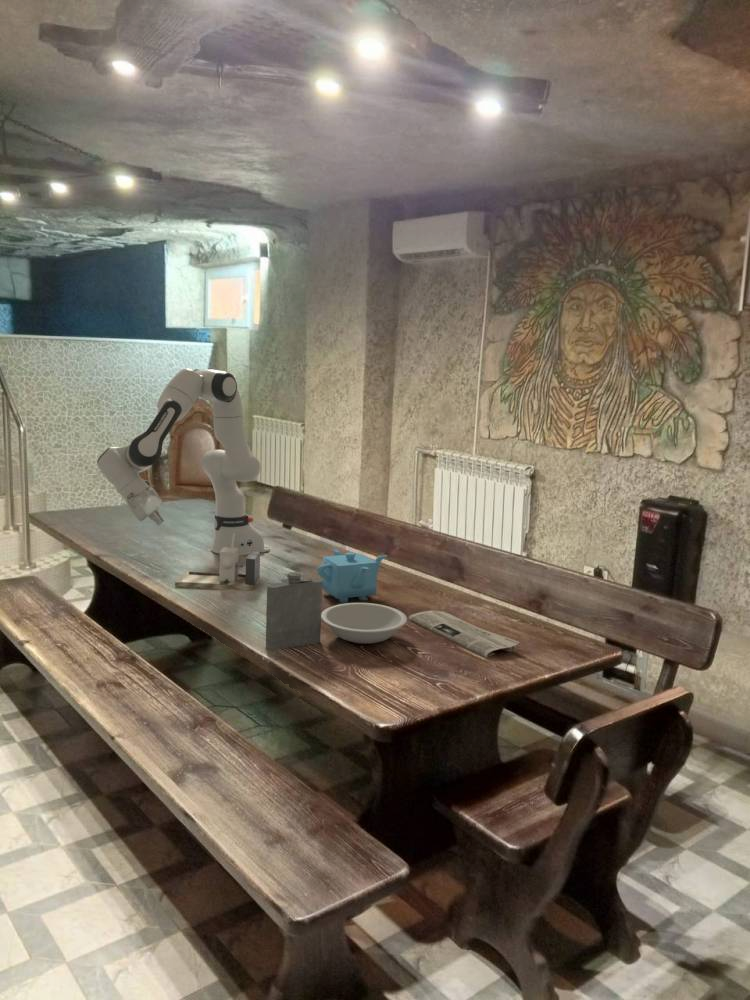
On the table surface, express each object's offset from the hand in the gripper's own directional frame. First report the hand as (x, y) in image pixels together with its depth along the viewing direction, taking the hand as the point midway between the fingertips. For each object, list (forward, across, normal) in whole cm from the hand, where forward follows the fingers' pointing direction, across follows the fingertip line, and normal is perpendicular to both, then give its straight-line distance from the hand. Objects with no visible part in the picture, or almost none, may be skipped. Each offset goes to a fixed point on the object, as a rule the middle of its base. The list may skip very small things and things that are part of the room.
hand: (161, 523), depth 262 cm
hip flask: (+46, -56, -27) cm, 77 cm away
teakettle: (+56, -11, -38) cm, 69 cm away
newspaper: (+77, -43, -63) cm, 108 cm away
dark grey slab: (+33, -4, -13) cm, 36 cm away
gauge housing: (+29, -5, -8) cm, 30 cm away
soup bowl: (+58, -49, -41) cm, 87 cm away
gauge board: (+27, -4, -3) cm, 28 cm away
